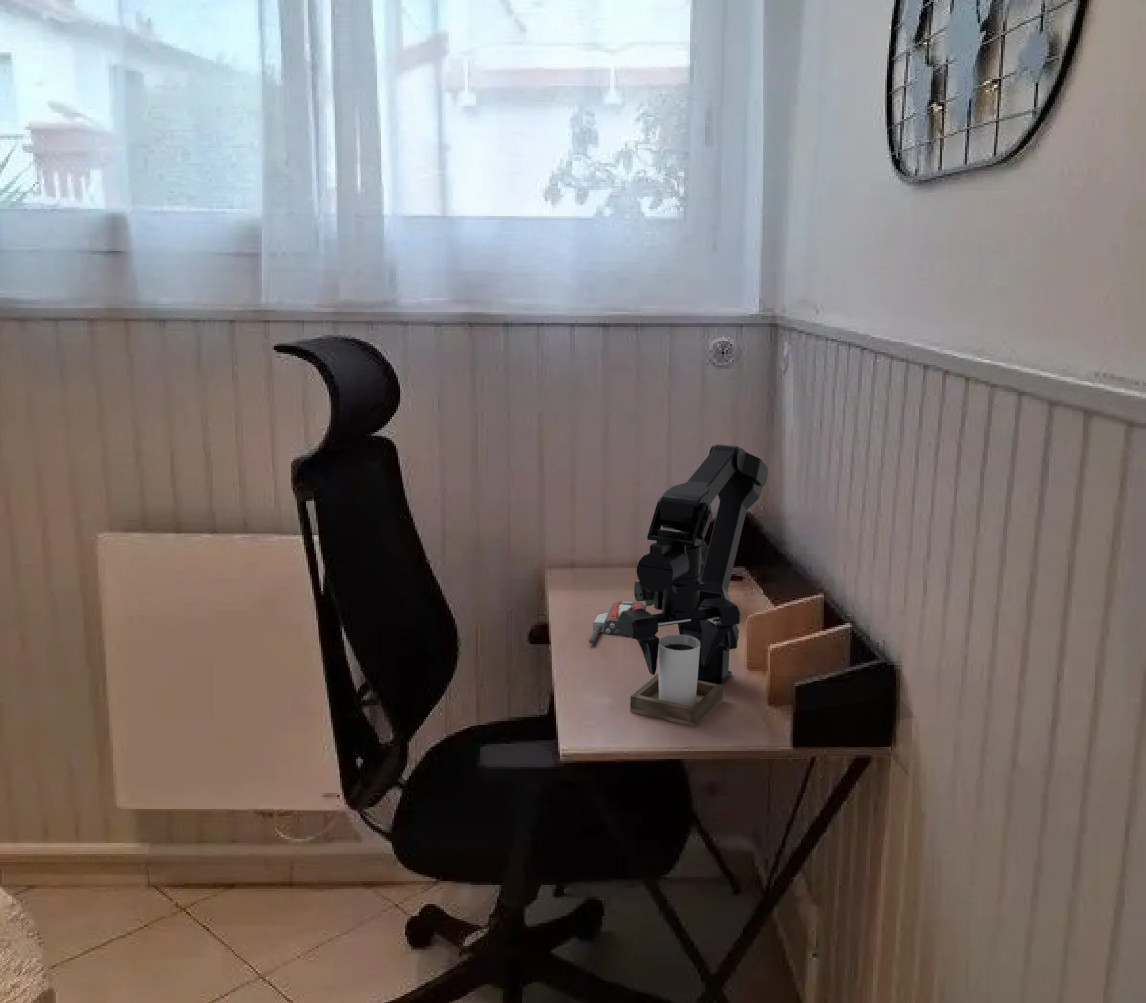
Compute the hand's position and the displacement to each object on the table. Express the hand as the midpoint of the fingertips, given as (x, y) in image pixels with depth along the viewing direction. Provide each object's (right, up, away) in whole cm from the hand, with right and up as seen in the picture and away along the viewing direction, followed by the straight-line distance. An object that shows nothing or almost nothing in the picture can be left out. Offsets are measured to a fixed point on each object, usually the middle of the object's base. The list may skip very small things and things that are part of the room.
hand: (678, 669), depth 163 cm
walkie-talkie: (-8, +1, +35) cm, 36 cm away
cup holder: (0, -6, +1) cm, 6 cm away
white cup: (0, -5, +1) cm, 6 cm away
